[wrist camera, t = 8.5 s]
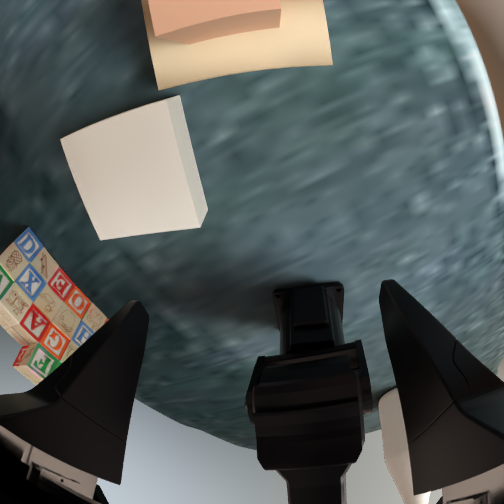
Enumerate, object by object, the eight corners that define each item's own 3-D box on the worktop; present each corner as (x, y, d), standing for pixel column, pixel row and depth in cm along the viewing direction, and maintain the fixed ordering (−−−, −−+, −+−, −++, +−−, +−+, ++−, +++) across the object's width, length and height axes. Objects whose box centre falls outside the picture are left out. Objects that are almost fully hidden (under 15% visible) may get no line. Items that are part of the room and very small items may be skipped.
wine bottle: (371, 407, 43) (378, 552, 19) (386, 385, 37) (399, 558, 13) (415, 399, 41) (430, 537, 18) (436, 376, 36) (459, 536, 12)
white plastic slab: (209, 207, 22) (200, 227, 19) (115, 221, 23) (100, 240, 21) (181, 94, 17) (166, 99, 14) (82, 128, 18) (60, 139, 16)
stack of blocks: (12, 242, 26) (-43, 310, 16) (29, 224, 24) (-37, 300, 14) (111, 350, 37) (84, 419, 27) (138, 346, 35) (110, 425, 25)
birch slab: (323, 65, 15) (332, 64, 12) (175, 86, 16) (158, 90, 14) (300, -56, 9) (303, -73, 7) (153, -29, 11) (135, -40, 8)
